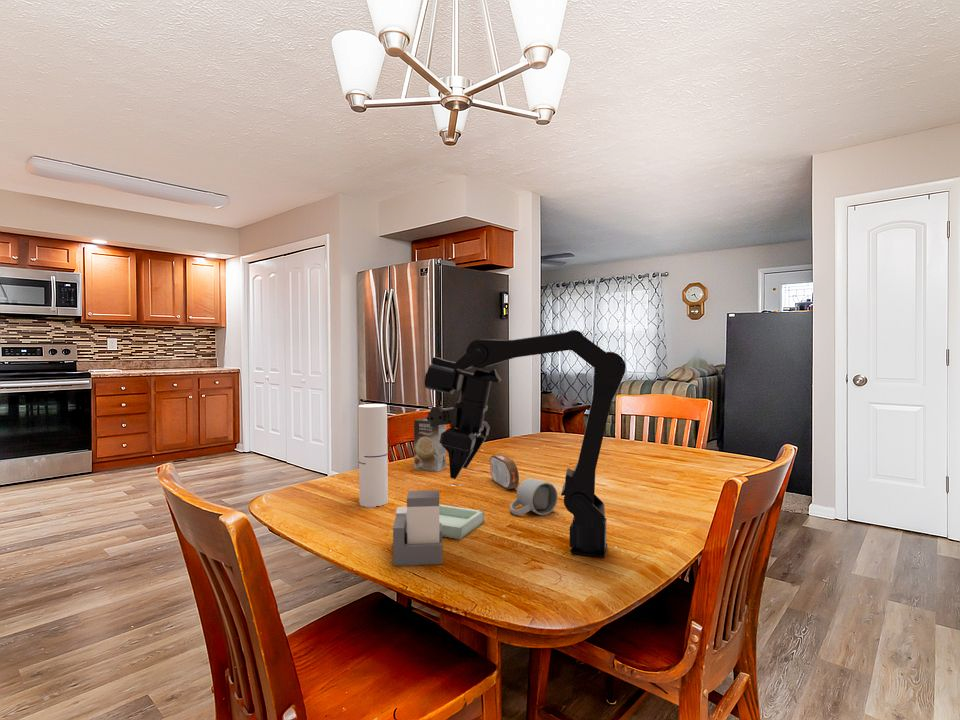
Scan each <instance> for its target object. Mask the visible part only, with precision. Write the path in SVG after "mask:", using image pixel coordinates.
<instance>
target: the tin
mask: <svg viewBox="0 0 960 720" xmlns="http://www.w3.org/2000/svg"><path fill="white" fill-rule="evenodd" d="M489 466H490V475H491V479H492V480H493V481H494V482H495V483H496V484H497V485H499V486H500V487H502V488H503V489H505V490H517V488H518V486H519V484H520V475H519V470H518V467H517V464H516V462H515V461H514V459H513V458H510V457H508V456H506V455H504V454H502V453H498V454H493V455H491V457H490V459H489Z"/></svg>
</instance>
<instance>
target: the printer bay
mask: <svg viewBox="0 0 960 720" xmlns="http://www.w3.org/2000/svg"><path fill="white" fill-rule="evenodd" d="M392 555H393V556H392V557H393V558H392V561H393V563H392V565H393V567H394V566H399V567H400V566H425V565H429V566H430V565H443V537H442V523H439V543H426V544H407V506H397V508H396V511H395V519H394V523H393V528H392Z"/></svg>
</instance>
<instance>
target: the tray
mask: <svg viewBox="0 0 960 720" xmlns="http://www.w3.org/2000/svg"><path fill="white" fill-rule="evenodd" d="M439 523H442V538H447V537H449V538H448V539H452V538H454V540H459V541H460V540H462V539H464V537H466V536H467V535H468V534H470V533H471V532H472V531H474V530H475V529H477V528H478V527H480V525H482V524H483V523H485V511H484V510H478V509H472V508H466V507H459V506H453V505H447V504H446V505H445V504H440V503H439Z"/></svg>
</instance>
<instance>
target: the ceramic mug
mask: <svg viewBox="0 0 960 720" xmlns="http://www.w3.org/2000/svg"><path fill="white" fill-rule="evenodd" d="M557 503H558V491H557V489H556V487H555V486H554V484H552V483H550V482H547V481H543V480H538V479H535V478H527V479H524V480H522V481H521V482H519V483H518V487H517V488H516V498H515V500H513V501H512V502H511V503H510V505H509V509H510V511H511V514H512V515H514V516H521V515H525V514H527V513H530V511H531V512H533V513H535V514H537V515H539V516H546V515H550V514H551V512H553V511H554V510H555V507H556V506H557ZM519 505H521V506H522V507H520V508H517V506H519ZM515 508H517V509H515Z"/></svg>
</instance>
